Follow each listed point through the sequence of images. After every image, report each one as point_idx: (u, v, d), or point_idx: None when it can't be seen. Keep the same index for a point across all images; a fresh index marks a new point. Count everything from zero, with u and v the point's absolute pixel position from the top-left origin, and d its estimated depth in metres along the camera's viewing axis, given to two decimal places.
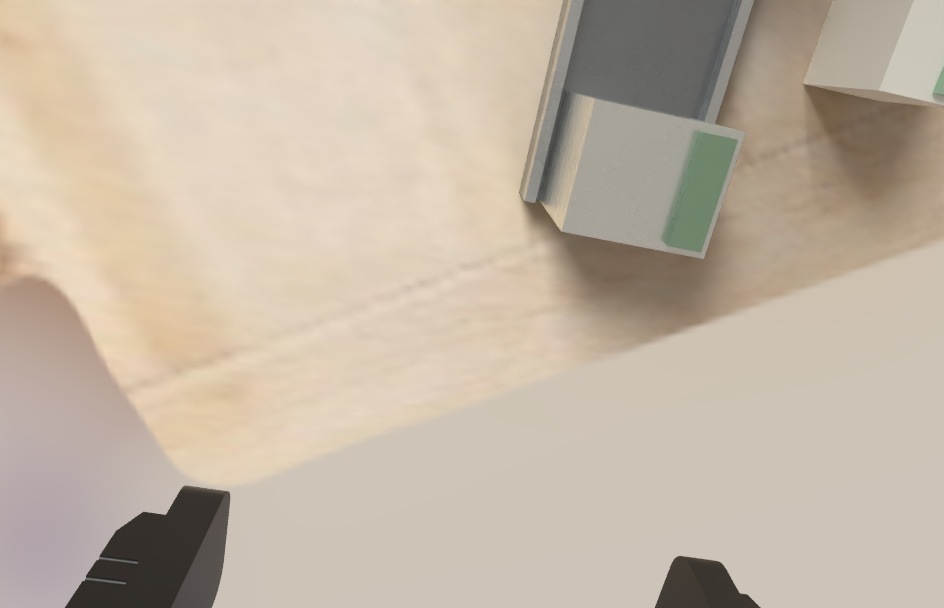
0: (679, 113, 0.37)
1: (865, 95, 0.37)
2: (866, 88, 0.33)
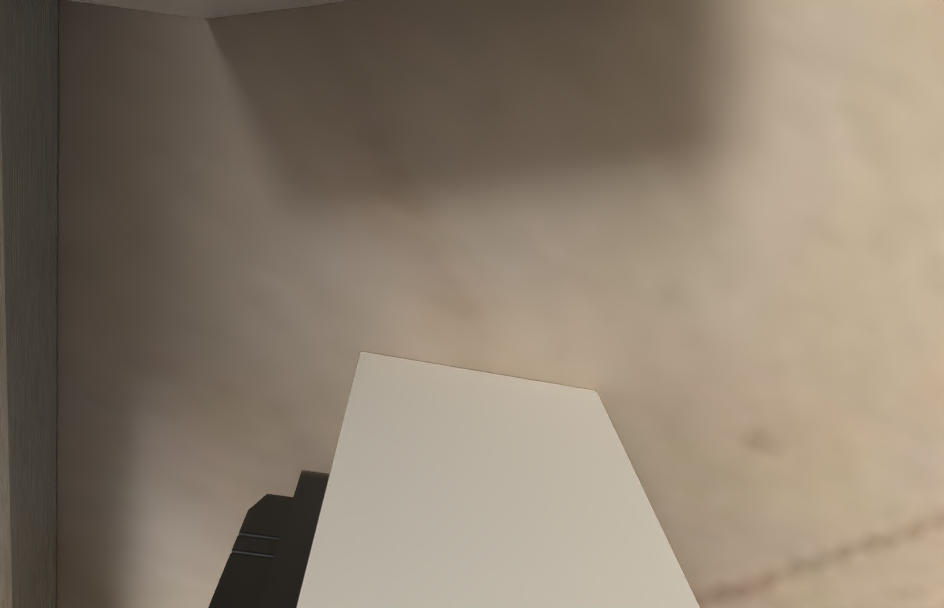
0: None
1: None
2: None
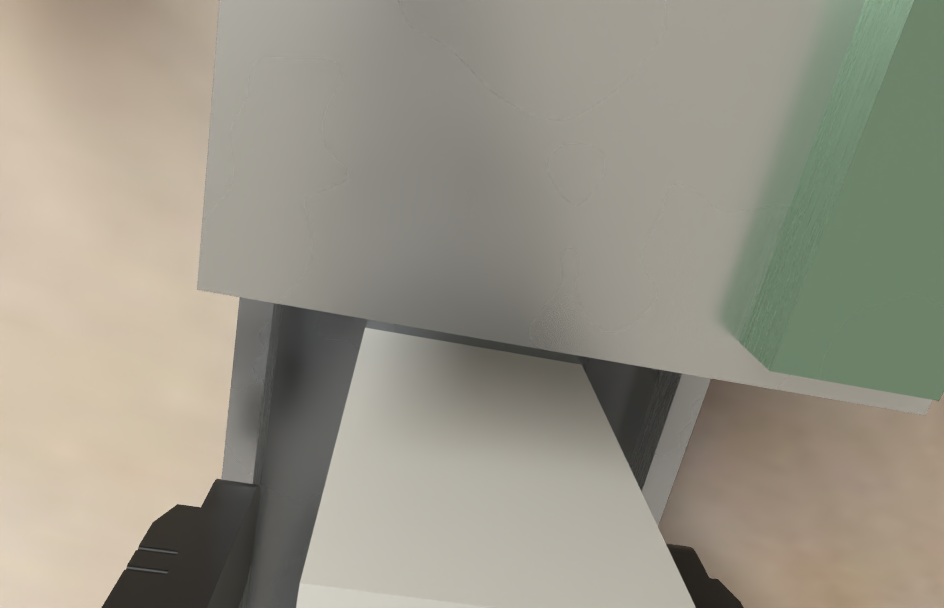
0: None
1: None
2: None
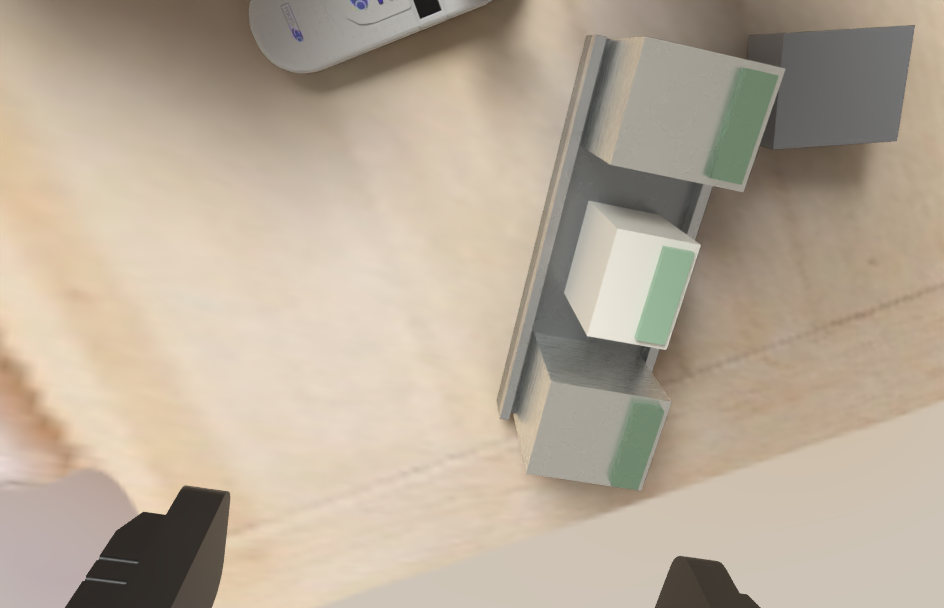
0: (627, 347, 0.45)
1: None
2: (583, 328, 0.38)
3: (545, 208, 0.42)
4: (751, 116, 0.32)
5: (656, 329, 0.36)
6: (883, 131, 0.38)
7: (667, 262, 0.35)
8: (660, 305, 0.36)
